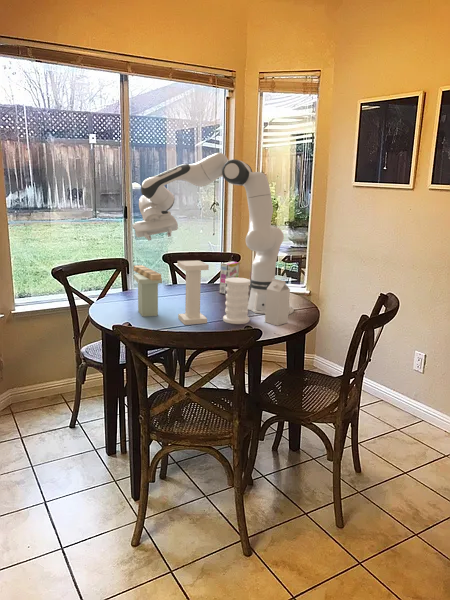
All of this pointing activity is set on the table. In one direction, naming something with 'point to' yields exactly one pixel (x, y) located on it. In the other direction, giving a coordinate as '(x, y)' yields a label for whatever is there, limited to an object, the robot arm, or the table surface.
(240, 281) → the decorative container
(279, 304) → the milk carton
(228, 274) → the candy bar box
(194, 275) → the shelf stand
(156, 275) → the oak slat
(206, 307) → the table surface
